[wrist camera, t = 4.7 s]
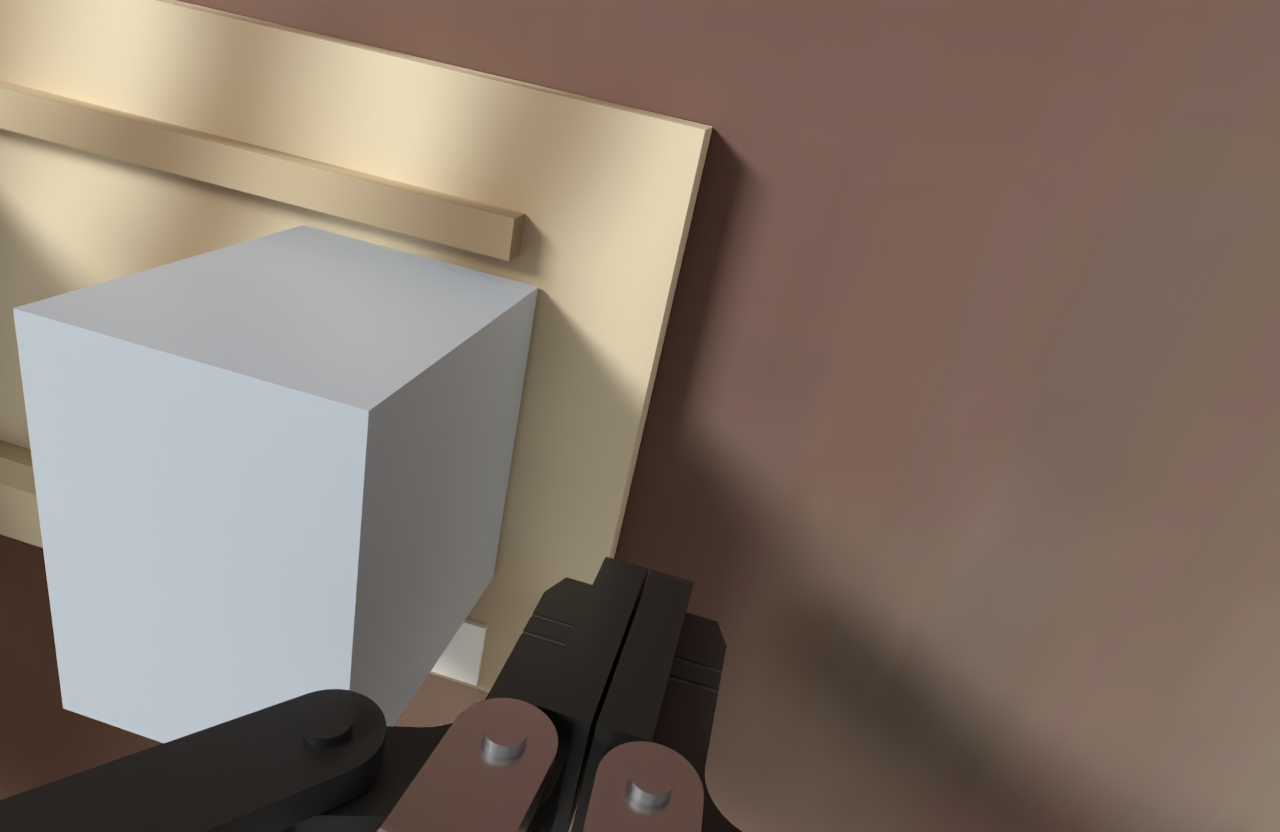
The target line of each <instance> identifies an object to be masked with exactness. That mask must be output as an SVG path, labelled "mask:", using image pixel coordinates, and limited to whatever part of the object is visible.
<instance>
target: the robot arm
mask: <svg viewBox="0 0 1280 832" xmlns="http://www.w3.org/2000/svg"><path fill="white" fill-rule="evenodd" d="M647 573H648V569H647V568H643V567H640V566H636V565H633V564H629V563H626V562H623V561H619V560H616V559H612V558H609V557H605V559H604V561H603V563H602V565H601V567H600V570H599V572H598V574H597V576H596V578H595V580H594V583H593V585H591V584H588V583H584V582H581V581H578V580H574V579H571V578H568V577H566V578H564V579H563V580H561V581H560V582H558V583H557V584H555V585H554V586H552V587H551V588H549V589H548V590H546V591H545V592H544V593H543V595H542V597H541V599H540V601H539V602H538V604H537V606H536V608H535V610H534V612H533V614H532V617H530V619H529V621H528V623H527V624H526V626H525V628H524V630H523V633H522V634H521V635H520V637H519V639H518V641H517V643H516V644H515V646H514V648H513V650H512V652H511V654H510V655H509V657H508V659H507V661H506V663H505V665H504V666H503V668H502V670H501V672H500V674H499V675H498V677H497V679H496V681H495V683H494V685H493V686H492V688H491V690H490V692H489V694H488V696H487V697H486V699H485V700H483V701H480V702H478V703H475V704H473V705H471V706H470V707H468V708H467V709H465V710H464V711H463V712H462V713H461V714H460V715H459V716H458V717H457V718H456V720H455V721H454V723H451V724H447V725H443V726H437V727H423V728H419V727H393V726H386V720H385V716H384V714H383V712H382V710H381V709H380V707H379V706H378V705H377V704H376V703H375V702H374V701H373V700H371V699H370V698H368V697H366V696H365V695H363V694H360V693H357V692H354V691H350V690H343V689H326V690H319V691H315V692H311V693H308V694H305V695H302V696H299V697H296V698H293V699H290V700H287V701H285V702H282V703H279V704H276V705H273V706H270V707H267V708H264V709H262V710H259V711H256V712H253V713H250V714H247V715H244V716H241V717H238V718H236V719H233V720H230V721H227V722H224V723H221V724H218V725H215V726H213V727H210V728H207V729H204V730H201V731H198V732H195V733H192V734H190V735H187V736H184V737H181V738H178V739H175V740H172V741H169V742H167V743H164V744H161V745H158V746H155V747H152V748H149V749H146V750H144V751H141V752H138V753H135V754H132V755H129V756H126V757H123V758H121V759H118V760H115V761H112V762H109V763H106V764H103V765H100V766H98V767H95V768H92V769H89V770H86V771H83V772H80V773H77V774H75V775H72V776H69V777H66V778H63V779H60V780H57V781H54V782H52V783H49V784H46V785H43V786H40V787H37V788H34V789H31V790H29V791H26V792H23V793H20V794H17V795H14V796H11V797H8V798H6V799H3V800H0V832H568V830H569V828H570V825H571V822H572V819H573V816H574V813H575V810H576V807H577V810H576V814H575V818H574V823H573V827H572V831H571V832H742V831H740V830H739V829H738V828H736V827H735V826H734V825H732V824H731V823H730V822H729V821H728V820H727V819H726V818H725V817H724V816H723V815H722V814H721V813H720V811H719V810H718V809H717V807H716V806H715V804H714V803H713V801H712V799H711V797H710V795H709V793H708V790H707V787H706V783H705V764H706V758H707V752H708V747H709V741H710V735H711V730H712V724H713V718H714V713H715V707H716V701H717V696H718V690H719V684H720V679H721V672H722V667H723V662H724V656H725V650H726V644H725V641H724V639H723V636H722V633H721V631H720V628H719V625H718V623H717V622H716V621H713V620H710V619H706V618H703V617H700V616H696V615H693V614H689V613H686V610H687V606H688V602H689V598H690V594H691V591H692V587H693V583H694V582H692V581H688V580H685V579H681V578H678V577H675V576H671V575H668V574H664V573H661V572H657V571H654V570H651V572H650V575H649V578H648V581H647V583H646V586H645V582H646V578H647ZM644 586H645V589H644ZM643 591H644V592H643ZM577 804H578V805H577Z"/></svg>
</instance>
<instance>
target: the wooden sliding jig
mask: <svg viewBox="0 0 1280 832" xmlns="http://www.w3.org/2000/svg"><path fill="white" fill-rule="evenodd" d="M712 128H713V127H712V126H708V125H704V124H699V123H695V122H691V121H687V120H682V119H678V118H674V117H670V116H665V115H661V114H657V113H653V112H648V111H644V110H640V109H636V108H631V107H627V106H623V105H619V104H614V103H610V102H606V101H602V100H597V99H593V98H589V97H585V96H580V95H576V94H572V93H568V92H563V91H559V90H555V89H551V88H546V87H542V86H538V85H534V84H529V83H525V82H521V81H517V80H512V79H508V78H504V77H500V76H495V75H491V74H487V73H483V72H479V71H474V70H470V69H466V68H462V67H457V66H453V65H449V64H445V63H440V62H436V61H432V60H428V59H423V58H419V57H415V56H411V55H406V54H402V53H398V52H394V51H389V50H385V49H381V48H377V47H372V46H368V45H364V44H360V43H355V42H351V41H347V40H343V39H338V38H334V37H330V36H326V35H321V34H317V33H313V32H309V31H304V30H300V29H296V28H292V27H287V26H283V25H279V24H275V23H270V22H266V21H262V20H258V19H253V18H249V17H245V16H241V15H236V14H232V13H228V12H224V11H219V10H215V9H211V8H207V7H202V6H198V5H194V4H190V3H185V2H181V1H177V0H0V534H1V535H4V536H7V537H10V538H13V539H16V540H19V541H22V542H26V543H29V544H32V545H35V546H38V547H41V548H43V544H42V536H41V528H40V520H39V512H38V504H37V496H36V488H35V480H34V472H33V464H32V456H31V448H30V440H29V432H28V425H27V417H26V409H25V401H24V393H23V385H22V377H21V369H20V361H19V353H18V345H17V337H16V329H15V321H14V313H13V308H16V307H19V306H23V305H26V304H30V303H33V302H37V301H40V300H44V299H47V298H51V297H54V296H58V295H61V294H64V293H68V292H71V291H75V290H78V289H82V288H85V287H89V286H92V285H96V284H99V283H103V282H106V281H110V280H113V279H117V278H120V277H124V276H127V275H131V274H134V273H138V272H141V271H145V270H148V269H152V268H155V267H159V266H162V265H166V264H169V263H173V262H176V261H180V260H183V259H186V258H190V257H193V256H197V255H200V254H204V253H207V252H211V251H214V250H218V249H221V248H225V247H228V246H232V245H235V244H239V243H242V242H246V241H249V240H253V239H256V238H260V237H263V236H267V235H270V234H274V233H277V232H281V231H284V230H288V229H291V228H295V227H298V226H302V225H306V226H309V227H313V228H317V229H321V230H325V231H328V232H332V233H336V234H340V235H343V236H347V237H351V238H355V239H359V240H362V241H366V242H370V243H374V244H378V245H381V246H385V247H389V248H393V249H396V250H400V251H404V252H408V253H412V254H415V255H419V256H423V257H427V258H431V259H434V260H438V261H442V262H446V263H449V264H453V265H457V266H461V267H465V268H468V269H472V270H476V271H480V272H484V273H487V274H491V275H495V276H499V277H503V278H506V279H510V280H514V281H518V282H521V283H525V284H529V285H533V286H537V287H538V293H537V299H536V306H535V312H534V319H533V325H532V332H531V338H530V344H529V351H528V357H527V364H526V370H525V377H524V383H523V390H522V396H521V402H520V409H519V415H518V422H517V428H516V435H515V441H514V448H513V454H512V460H511V467H510V473H509V480H508V486H507V493H506V499H505V506H504V512H503V518H502V525H501V531H500V538H499V544H498V551H497V557H496V564H495V570H494V576H493V579H492V580H491V582H490V583H489V585H488V586H487V588H486V589H485V591H484V592H483V594H482V595H481V597H480V598H479V600H478V601H477V603H476V604H475V606H474V607H473V609H472V610H471V612H470V613H469V615H468V616H467V618H466V619H465V621H464V622H463V624H462V625H461V627H460V628H459V630H458V631H457V633H456V634H455V636H454V637H453V639H452V640H451V642H450V643H449V645H448V646H447V648H446V649H445V651H444V652H443V654H442V655H441V657H440V658H439V660H438V661H437V663H436V664H435V666H434V667H433V669H432V670H431V672H430V674H433V675H436V676H439V677H442V678H445V679H449V680H452V681H455V682H458V683H461V684H464V685H467V686H470V687H473V688H476V689H479V690H483V691H486V692H490V690H491V688H492V686H493V685H494V683H495V681H496V679H497V677H498V675H499V674H500V672H501V670H502V668H503V666H504V665H505V663H506V661H507V659H508V657H509V655H510V654H511V652H512V650H513V648H514V646H515V644H516V643H517V641H518V639H519V637H520V635H521V634H522V633H523V630H524V628H525V626H526V624H527V623H528V621H529V619H530V617H532V614H533V612H534V610H535V608H536V606H537V604H538V602H539V601H540V599H541V597H542V595H543V593H544V592H545V591H546V590H548V589H549V588H551V587H552V586H554V585H555V584H557V583H558V582H560V581H561V580H563V579H564V578H566V577H568V578H571V579H574V580H578V581H581V582H584V583H588V584H591V585H593V583H594V580H595V578H596V576H597V574H598V572H599V570H600V567H601V565H602V563H603V561H604V559H605V557H609V558H612V559H614V557H615V553H616V548H617V544H618V540H619V535H620V531H621V526H622V522H623V518H624V513H625V509H626V505H627V500H628V496H629V491H630V487H631V483H632V478H633V474H634V469H635V465H636V461H637V456H638V452H639V448H640V443H641V439H642V434H643V430H644V426H645V421H646V417H647V413H648V408H649V404H650V399H651V395H652V391H653V386H654V382H655V378H656V373H657V369H658V364H659V360H660V356H661V351H662V347H663V342H664V338H665V334H666V329H667V325H668V321H669V316H670V312H671V307H672V303H673V299H674V294H675V290H676V286H677V281H678V277H679V272H680V268H681V264H682V259H683V255H684V251H685V246H686V242H687V237H688V233H689V229H690V224H691V220H692V216H693V211H694V207H695V202H696V198H697V194H698V189H699V185H700V180H701V176H702V172H703V167H704V163H705V159H706V154H707V150H708V145H709V141H710V137H711V132H712Z"/></svg>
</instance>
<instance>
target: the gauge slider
mask: <svg viewBox="0 0 1280 832" xmlns="http://www.w3.org/2000/svg"><path fill="white" fill-rule="evenodd" d="M537 293H538V287H537V286H533V285H529V284H525V283H521V282H518V281H514V280H510V279H506V278H503V277H499V276H495V275H491V274H487V273H484V272H480V271H476V270H472V269H468V268H465V267H461V266H457V265H453V264H449V263H446V262H442V261H438V260H434V259H431V258H427V257H423V256H419V255H415V254H412V253H408V252H404V251H400V250H396V249H393V248H389V247H385V246H381V245H378V244H374V243H370V242H366V241H362V240H359V239H355V238H351V237H347V236H343V235H340V234H336V233H332V232H328V231H325V230H321V229H317V228H313V227H309V226H306V225H302V226H298V227H295V228H291V229H288V230H284V231H281V232H277V233H274V234H270V235H267V236H263V237H260V238H256V239H253V240H249V241H246V242H242V243H239V244H235V245H232V246H228V247H225V248H221V249H218V250H214V251H211V252H207V253H204V254H200V255H197V256H193V257H190V258H186V259H183V260H180V261H176V262H173V263H169V264H166V265H162V266H159V267H155V268H152V269H148V270H145V271H141V272H138V273H134V274H131V275H127V276H124V277H120V278H117V279H113V280H110V281H106V282H103V283H99V284H96V285H92V286H89V287H85V288H82V289H78V290H75V291H71V292H68V293H64V294H61V295H58V296H54V297H51V298H47V299H44V300H40V301H37V302H33V303H30V304H26V305H23V306H19V307H16V308H13V313H14V321H15V329H16V337H17V345H18V353H19V361H20V369H21V377H22V385H23V393H24V401H25V409H26V417H27V425H28V432H29V440H30V448H31V456H32V464H33V472H34V480H35V488H36V496H37V504H38V512H39V520H40V528H41V536H42V544H43V552H44V560H45V568H46V576H47V584H48V592H49V600H50V608H51V616H52V624H53V632H54V640H55V648H56V656H57V664H58V672H59V680H60V688H61V696H62V704H63V708H64V709H66V710H69V711H72V712H75V713H78V714H81V715H84V716H87V717H89V718H92V719H95V720H98V721H101V722H104V723H107V724H110V725H112V726H115V727H118V728H121V729H124V730H127V731H130V732H133V733H136V734H138V735H141V736H144V737H147V738H150V739H153V740H156V741H159V742H161V743H167V742H169V741H172V740H175V739H178V738H181V737H184V736H187V735H190V734H192V733H195V732H198V731H201V730H204V729H207V728H210V727H213V726H215V725H218V724H221V723H224V722H227V721H230V720H233V719H236V718H238V717H241V716H244V715H247V714H250V713H253V712H256V711H259V710H262V709H264V708H267V707H270V706H273V705H276V704H279V703H282V702H285V701H287V700H290V699H293V698H296V697H299V696H302V695H305V694H308V693H311V692H315V691H319V690H326V689H343V690H350V691H354V692H357V693H360V694H363V695H365V696H366V697H368V698H370V699H371V700H373V701H374V702H375V703H376V704H377V705H378V706H379V707H380V709H381V710H382V712H383V714H384V716H385V720H386V726H393V727H394V725H395V724H396V722H397V721H398V719H399V718H400V716H401V715H402V713H403V712H404V711H405V709H406V708H407V706H408V705H409V703H410V702H411V700H412V699H413V697H414V696H415V694H416V693H417V691H418V690H419V688H420V687H421V685H422V684H423V682H424V681H425V679H426V678H427V676H428V675H429V673H430V672H431V670H432V669H433V667H434V666H435V664H436V663H437V661H438V660H439V658H440V657H441V655H442V654H443V652H444V651H445V649H446V648H447V646H448V645H449V643H450V642H451V640H452V639H453V637H454V636H455V634H456V633H457V631H458V630H459V628H460V627H461V625H462V624H463V622H464V621H465V619H466V618H467V616H468V615H469V613H470V612H471V610H472V609H473V607H474V606H475V604H476V603H477V601H478V600H479V598H480V597H481V595H482V594H483V592H484V591H485V589H486V588H487V586H488V585H489V583H490V582H491V580H492V579H493V576H494V570H495V564H496V557H497V551H498V544H499V538H500V531H501V525H502V518H503V512H504V506H505V499H506V493H507V486H508V480H509V473H510V467H511V460H512V454H513V448H514V441H515V435H516V428H517V422H518V415H519V409H520V402H521V396H522V390H523V383H524V377H525V370H526V364H527V357H528V351H529V344H530V338H531V332H532V325H533V319H534V312H535V306H536V299H537Z"/></svg>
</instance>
